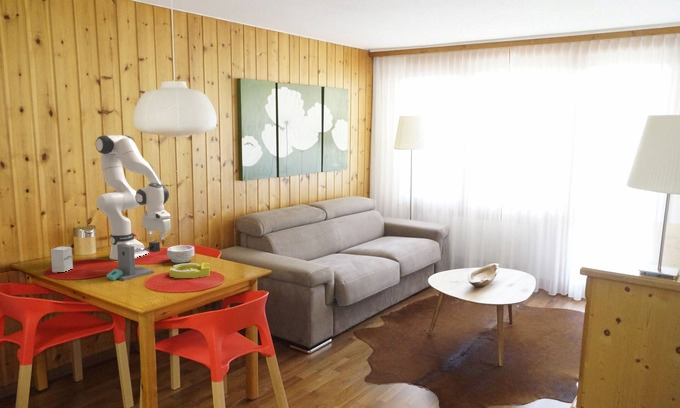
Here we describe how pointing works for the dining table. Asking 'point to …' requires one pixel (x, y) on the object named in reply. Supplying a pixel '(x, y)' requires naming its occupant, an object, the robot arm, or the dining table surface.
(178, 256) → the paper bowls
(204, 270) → the ashtray
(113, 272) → the teal flat block
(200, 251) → the dining table surface
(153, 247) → the shaft
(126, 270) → the bearing stand
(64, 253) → the supplement box
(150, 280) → the dining table surface
